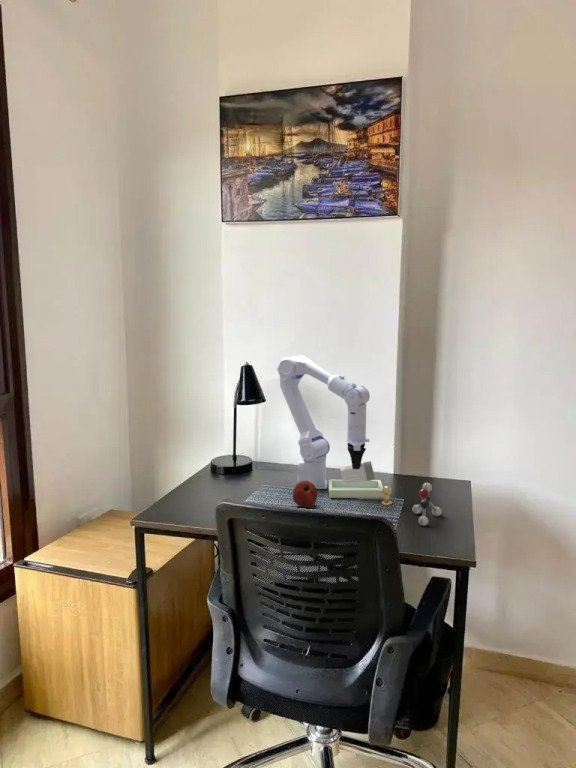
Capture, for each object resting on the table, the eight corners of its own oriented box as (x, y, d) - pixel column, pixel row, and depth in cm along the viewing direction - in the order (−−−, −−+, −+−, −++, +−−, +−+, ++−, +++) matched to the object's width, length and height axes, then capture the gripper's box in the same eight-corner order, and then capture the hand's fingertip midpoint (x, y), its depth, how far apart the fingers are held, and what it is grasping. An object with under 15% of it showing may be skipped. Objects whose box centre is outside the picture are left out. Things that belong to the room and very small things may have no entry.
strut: (343, 486, 186) (340, 471, 186) (343, 482, 190) (340, 467, 189) (375, 479, 185) (371, 464, 184) (374, 475, 189) (370, 461, 188)
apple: (291, 510, 173) (291, 484, 172) (293, 501, 181) (293, 476, 180) (316, 511, 173) (317, 484, 172) (317, 502, 181) (317, 477, 180)
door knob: (382, 505, 178) (382, 487, 177) (381, 502, 180) (381, 484, 180) (392, 505, 177) (392, 487, 177) (390, 502, 180) (391, 484, 180)
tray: (329, 498, 184) (329, 490, 183) (328, 487, 195) (328, 479, 194) (384, 499, 183) (384, 490, 182) (380, 488, 194) (380, 479, 193)
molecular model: (441, 514, 170) (442, 479, 168) (438, 530, 159) (439, 492, 157) (412, 511, 173) (413, 476, 171) (407, 526, 161) (408, 488, 160)
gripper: (370, 430, 177) (369, 474, 179) (368, 420, 192) (367, 461, 194) (347, 430, 178) (346, 473, 180) (346, 420, 192) (346, 460, 194)
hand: (355, 467), depth 187 cm, fingers closed on strut, 3 cm apart
